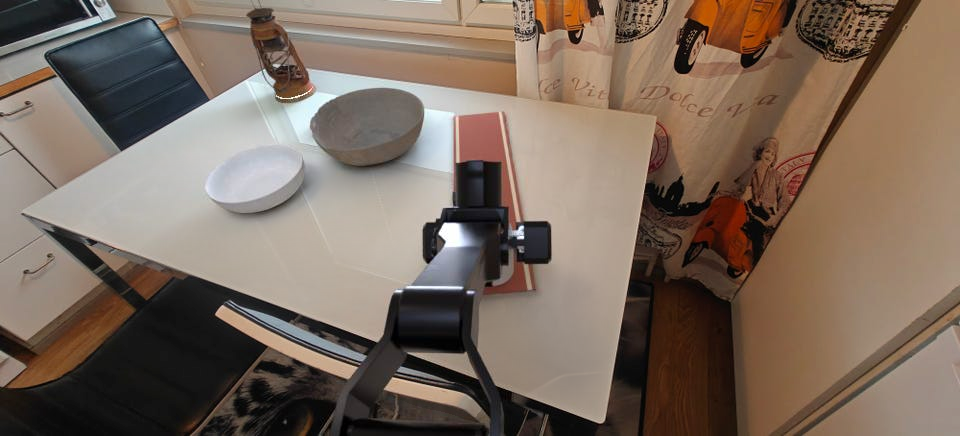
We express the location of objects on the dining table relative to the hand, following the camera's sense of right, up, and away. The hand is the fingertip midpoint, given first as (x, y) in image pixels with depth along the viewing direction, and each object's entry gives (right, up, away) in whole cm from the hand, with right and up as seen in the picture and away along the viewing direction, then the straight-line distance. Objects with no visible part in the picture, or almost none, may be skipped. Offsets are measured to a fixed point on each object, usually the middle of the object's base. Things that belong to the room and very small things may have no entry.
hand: (491, 240), depth 68 cm
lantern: (-62, +44, +64) cm, 99 cm away
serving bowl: (-51, +9, +27) cm, 59 cm away
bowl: (-28, +22, +38) cm, 52 cm away
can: (0, -6, +4) cm, 7 cm away
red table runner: (-1, +12, +23) cm, 26 cm away
